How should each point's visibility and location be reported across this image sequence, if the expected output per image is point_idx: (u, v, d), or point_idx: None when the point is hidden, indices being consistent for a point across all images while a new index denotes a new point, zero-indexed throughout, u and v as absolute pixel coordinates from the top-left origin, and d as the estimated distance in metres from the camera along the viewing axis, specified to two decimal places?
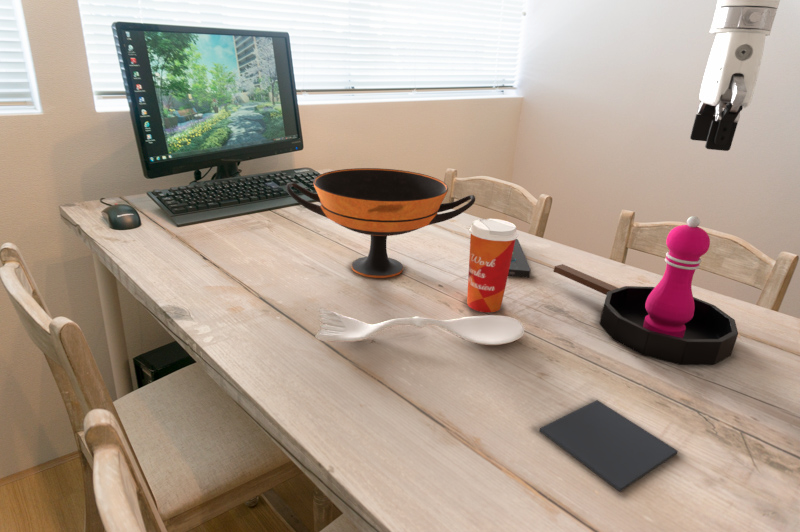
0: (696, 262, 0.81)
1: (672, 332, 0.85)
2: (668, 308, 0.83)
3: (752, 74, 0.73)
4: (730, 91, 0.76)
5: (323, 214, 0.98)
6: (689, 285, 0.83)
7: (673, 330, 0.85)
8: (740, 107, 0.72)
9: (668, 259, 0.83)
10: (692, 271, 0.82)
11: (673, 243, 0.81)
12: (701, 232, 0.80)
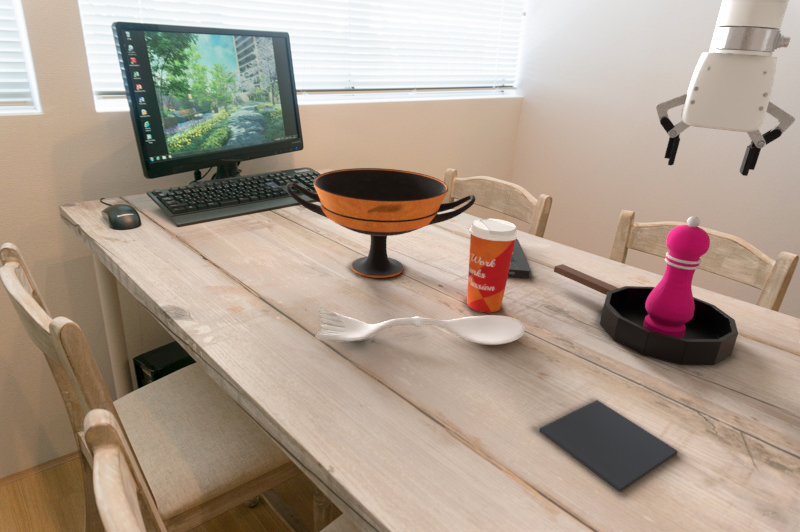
0: (696, 262, 0.81)
1: (672, 332, 0.85)
2: (668, 308, 0.83)
3: None
4: None
5: (323, 214, 0.98)
6: (689, 285, 0.83)
7: (673, 330, 0.85)
8: None
9: (668, 259, 0.83)
10: (692, 271, 0.82)
11: (673, 243, 0.81)
12: (701, 232, 0.80)
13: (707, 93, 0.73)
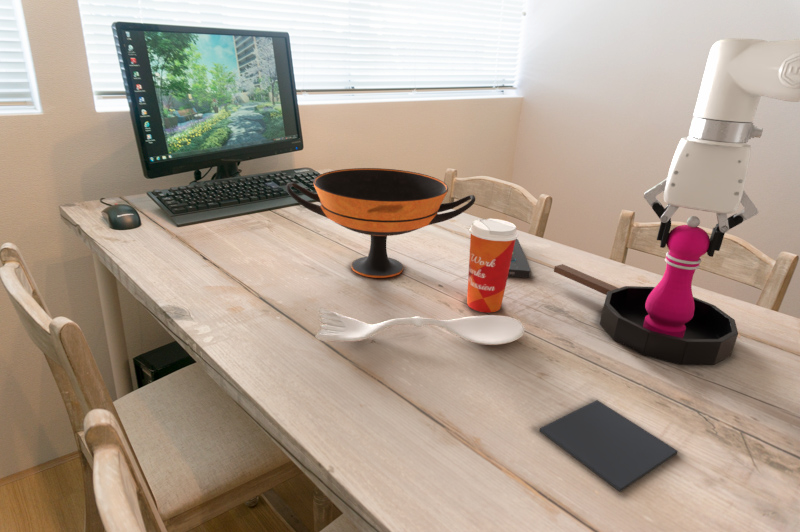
0: (696, 262, 0.81)
1: (672, 332, 0.85)
2: (668, 308, 0.83)
3: None
4: None
5: (323, 214, 0.98)
6: (689, 285, 0.83)
7: (673, 330, 0.85)
8: None
9: (668, 259, 0.83)
10: (692, 271, 0.82)
11: (673, 243, 0.81)
12: (701, 231, 0.80)
13: (686, 177, 0.77)
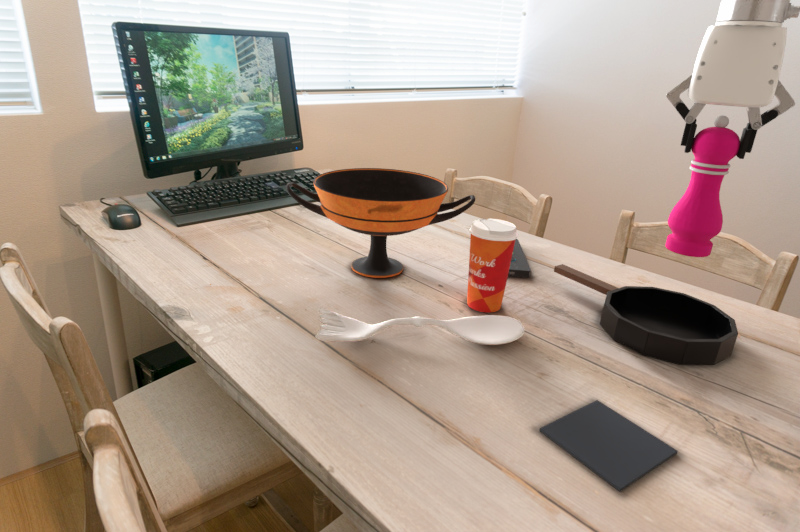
0: (725, 166, 0.74)
1: (698, 247, 0.78)
2: (693, 219, 0.76)
3: None
4: None
5: (323, 214, 0.98)
6: (717, 194, 0.76)
7: (699, 245, 0.78)
8: None
9: (693, 166, 0.76)
10: (720, 177, 0.75)
11: (700, 145, 0.74)
12: (731, 131, 0.73)
13: (714, 68, 0.70)
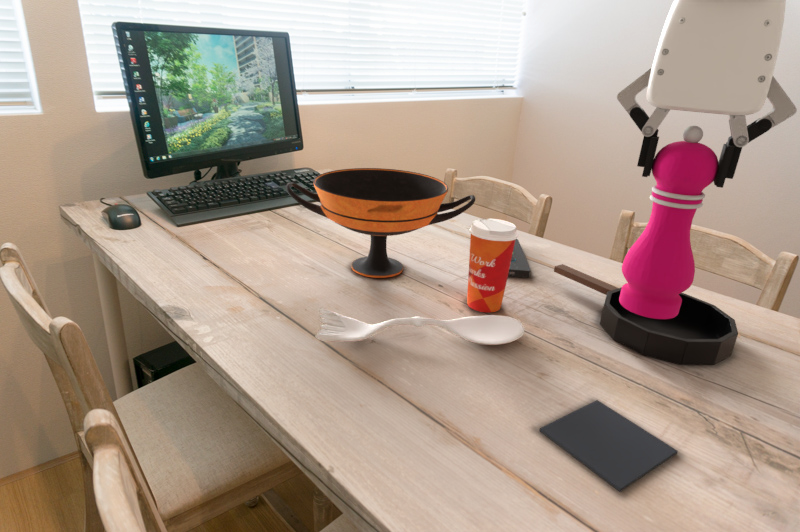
0: (697, 197, 0.53)
1: (661, 306, 0.56)
2: (654, 269, 0.55)
3: None
4: None
5: (323, 214, 0.98)
6: (686, 234, 0.55)
7: (662, 303, 0.56)
8: None
9: (654, 195, 0.55)
10: (691, 212, 0.54)
11: (662, 167, 0.53)
12: (705, 148, 0.52)
13: (681, 58, 0.49)
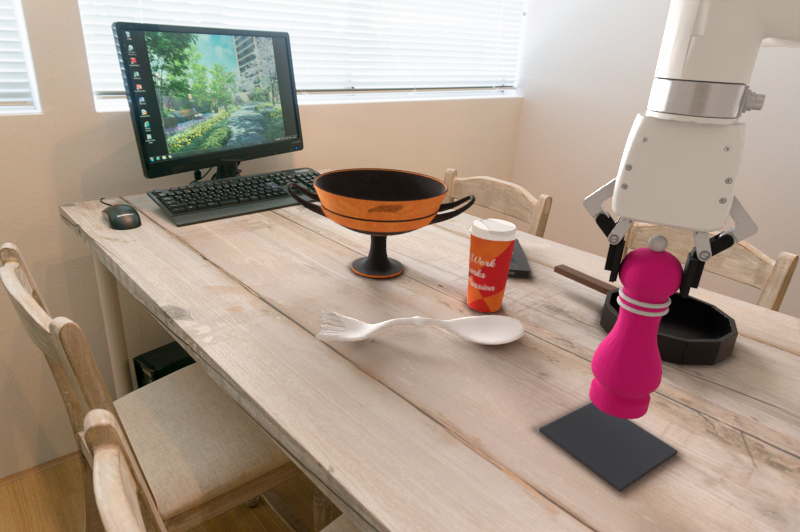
0: (662, 305, 0.53)
1: (629, 408, 0.56)
2: (621, 373, 0.55)
3: None
4: None
5: (323, 214, 0.98)
6: (653, 339, 0.55)
7: (630, 404, 0.57)
8: None
9: (621, 299, 0.55)
10: (657, 318, 0.54)
11: (627, 275, 0.53)
12: (670, 259, 0.52)
13: (644, 175, 0.49)
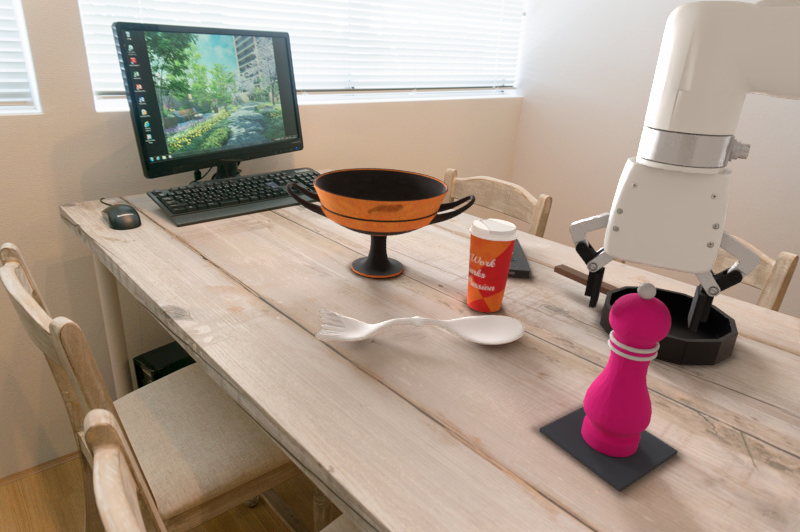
0: (651, 350, 0.55)
1: (619, 446, 0.58)
2: (612, 414, 0.57)
3: None
4: None
5: (323, 214, 0.98)
6: (642, 381, 0.57)
7: (620, 443, 0.59)
8: None
9: (612, 343, 0.57)
10: (646, 362, 0.56)
11: (617, 322, 0.55)
12: (658, 307, 0.54)
13: (635, 219, 0.51)
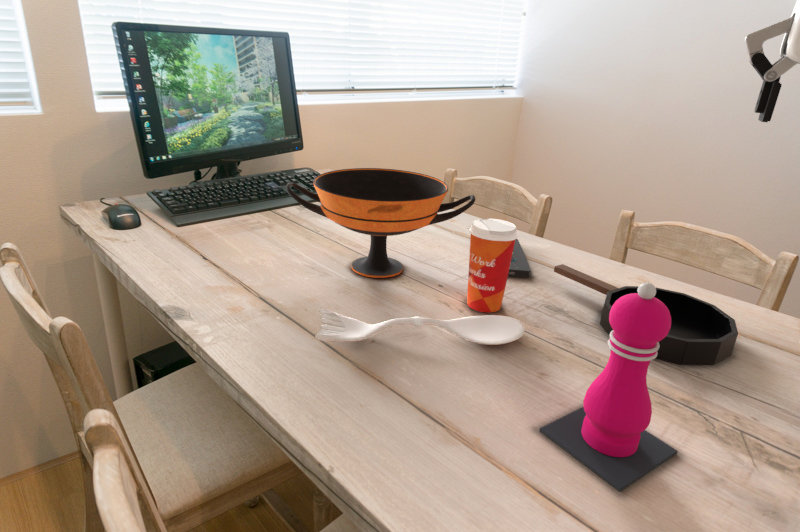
0: (651, 351, 0.55)
1: (619, 446, 0.58)
2: (612, 414, 0.57)
3: None
4: None
5: (323, 214, 0.98)
6: (642, 381, 0.57)
7: (620, 443, 0.59)
8: None
9: (612, 343, 0.57)
10: (646, 362, 0.56)
11: (617, 322, 0.55)
12: (658, 307, 0.54)
13: None
